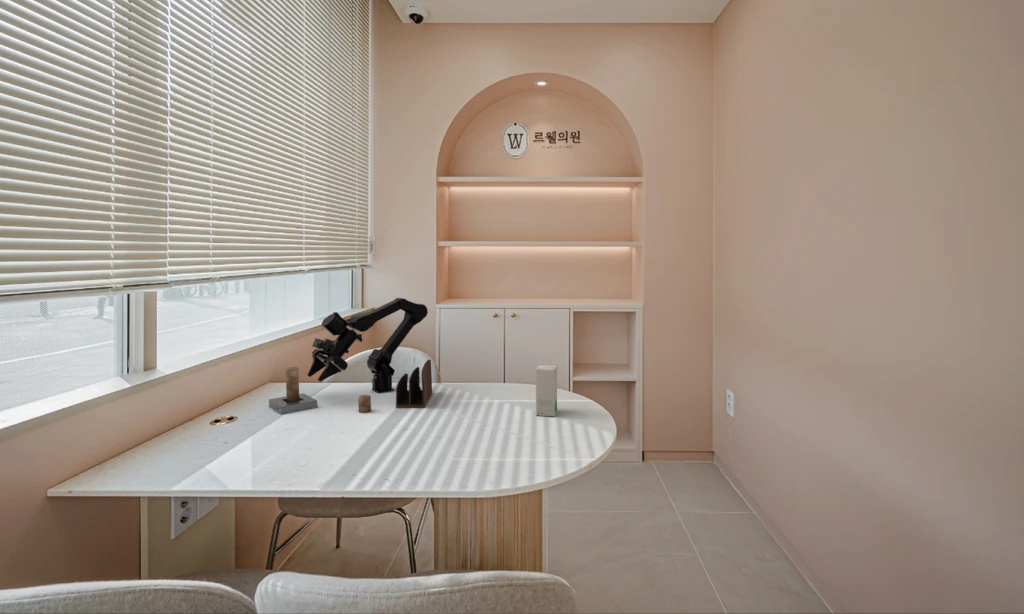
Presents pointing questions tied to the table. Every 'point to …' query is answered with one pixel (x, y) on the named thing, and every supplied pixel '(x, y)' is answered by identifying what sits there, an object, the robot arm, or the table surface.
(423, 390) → the letter holder
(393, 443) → the table surface
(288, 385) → the tall pin
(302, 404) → the hole collar
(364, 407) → the stub pin
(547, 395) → the skincare box
